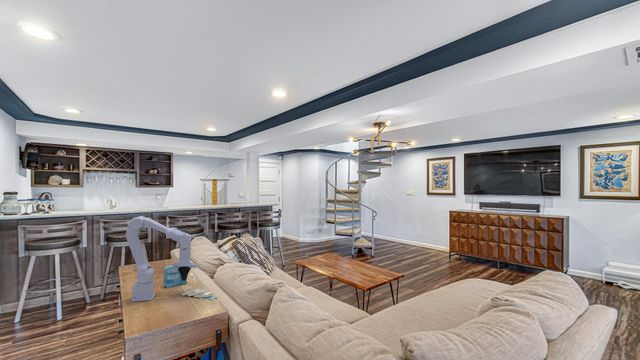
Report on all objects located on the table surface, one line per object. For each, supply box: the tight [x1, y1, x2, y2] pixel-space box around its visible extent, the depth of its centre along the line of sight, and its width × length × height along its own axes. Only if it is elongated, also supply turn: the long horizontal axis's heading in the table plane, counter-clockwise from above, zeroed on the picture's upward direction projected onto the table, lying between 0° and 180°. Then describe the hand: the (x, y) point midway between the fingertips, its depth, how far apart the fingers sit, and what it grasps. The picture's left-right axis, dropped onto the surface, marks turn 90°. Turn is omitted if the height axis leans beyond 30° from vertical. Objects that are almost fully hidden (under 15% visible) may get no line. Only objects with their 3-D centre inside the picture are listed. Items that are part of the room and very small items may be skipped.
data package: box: [163, 264, 188, 289], centre depth 173 cm, size 12×4×12 cm, turn 133°
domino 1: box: [181, 287, 201, 297], centre depth 156 cm, size 1×4×9 cm
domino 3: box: [193, 291, 214, 298], centre depth 154 cm, size 1×4×9 cm
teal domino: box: [198, 295, 219, 301], centre depth 152 cm, size 1×4×9 cm
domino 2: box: [187, 288, 207, 297], centre depth 155 cm, size 1×4×9 cm
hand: (184, 280), depth 158 cm, fingers closed
